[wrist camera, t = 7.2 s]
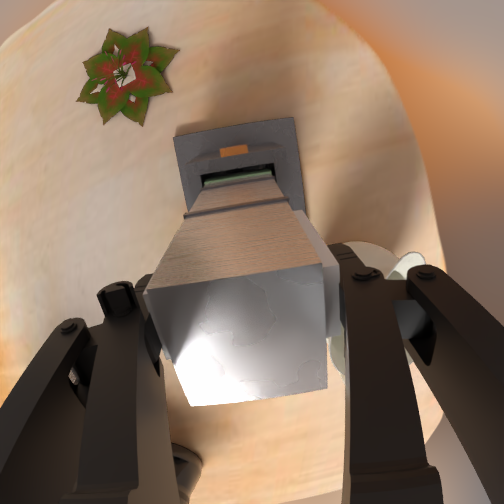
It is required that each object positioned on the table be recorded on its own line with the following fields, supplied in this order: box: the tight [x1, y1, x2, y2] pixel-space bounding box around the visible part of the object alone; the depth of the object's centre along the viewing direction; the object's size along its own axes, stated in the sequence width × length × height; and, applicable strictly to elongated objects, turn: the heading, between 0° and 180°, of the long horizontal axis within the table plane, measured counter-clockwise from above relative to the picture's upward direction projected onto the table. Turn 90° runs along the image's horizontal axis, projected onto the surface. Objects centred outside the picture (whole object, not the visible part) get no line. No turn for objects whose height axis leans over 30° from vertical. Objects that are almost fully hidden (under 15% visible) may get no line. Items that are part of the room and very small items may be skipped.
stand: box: [173, 117, 306, 215], centre depth 29 cm, size 12×12×10 cm
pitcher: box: [326, 241, 426, 384], centre depth 31 cm, size 11×18×14 cm, turn 176°
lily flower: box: [76, 27, 180, 127], centre depth 26 cm, size 12×12×5 cm
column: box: [146, 168, 327, 406], centre depth 17 cm, size 5×5×18 cm
